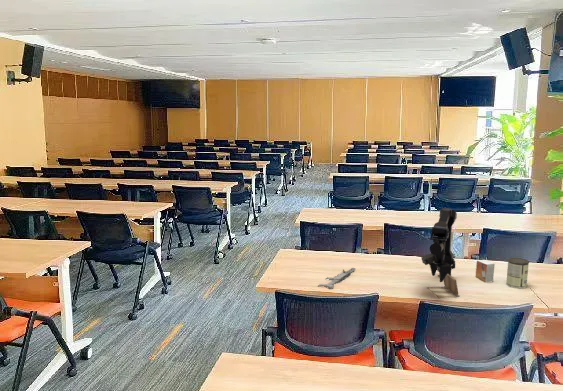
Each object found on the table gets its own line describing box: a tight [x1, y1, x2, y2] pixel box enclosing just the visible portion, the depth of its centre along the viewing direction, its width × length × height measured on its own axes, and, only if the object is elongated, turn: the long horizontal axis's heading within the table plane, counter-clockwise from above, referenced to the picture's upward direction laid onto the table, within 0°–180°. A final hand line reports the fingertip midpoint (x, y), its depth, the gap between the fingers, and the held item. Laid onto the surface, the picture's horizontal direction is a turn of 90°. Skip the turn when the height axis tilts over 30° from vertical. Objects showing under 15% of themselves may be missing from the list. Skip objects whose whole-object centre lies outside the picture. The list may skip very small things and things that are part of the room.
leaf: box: [443, 274, 459, 295], centre depth 253 cm, size 14×10×2 cm
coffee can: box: [506, 257, 530, 289], centre depth 265 cm, size 10×10×14 cm
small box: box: [474, 259, 496, 283], centre depth 274 cm, size 8×6×10 cm
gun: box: [317, 267, 356, 290], centre depth 276 cm, size 36×4×10 cm
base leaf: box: [427, 285, 460, 299], centre depth 253 cm, size 14×11×2 cm
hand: (437, 278), depth 251 cm, fingers open, 9 cm apart
